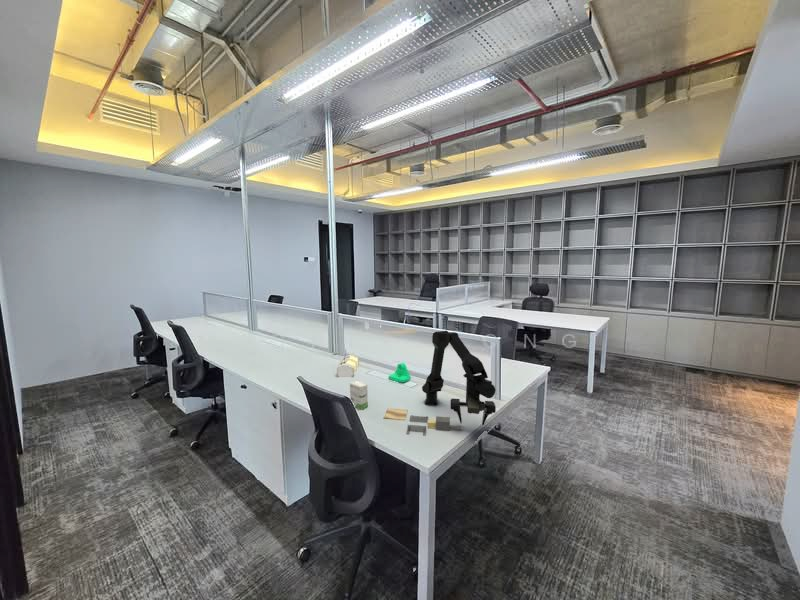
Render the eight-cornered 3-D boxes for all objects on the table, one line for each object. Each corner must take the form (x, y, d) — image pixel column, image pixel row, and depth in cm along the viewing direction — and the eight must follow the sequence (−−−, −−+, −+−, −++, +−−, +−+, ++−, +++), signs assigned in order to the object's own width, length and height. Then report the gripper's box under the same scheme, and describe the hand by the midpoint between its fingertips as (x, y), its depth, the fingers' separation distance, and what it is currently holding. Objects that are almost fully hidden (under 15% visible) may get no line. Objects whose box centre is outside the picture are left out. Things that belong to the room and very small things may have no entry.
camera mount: (387, 379, 202) (387, 363, 201) (396, 376, 208) (396, 360, 207) (402, 384, 195) (402, 367, 193) (410, 381, 200) (410, 364, 199)
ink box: (368, 407, 164) (368, 384, 162) (360, 410, 160) (360, 387, 159) (357, 401, 170) (357, 380, 168) (349, 404, 166) (349, 382, 165)
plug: (428, 424, 147) (428, 415, 146) (461, 426, 145) (461, 418, 144) (427, 429, 142) (427, 420, 142) (461, 432, 140) (461, 423, 140)
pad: (387, 409, 162) (387, 408, 162) (407, 410, 160) (407, 409, 160) (383, 418, 152) (383, 417, 152) (404, 420, 150) (404, 419, 150)
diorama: (344, 365, 231) (344, 347, 229) (359, 365, 231) (358, 347, 229) (336, 377, 206) (336, 357, 204) (353, 377, 206) (352, 357, 204)
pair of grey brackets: (411, 416, 154) (411, 412, 153) (428, 418, 152) (428, 414, 152) (406, 433, 138) (406, 429, 138) (425, 435, 137) (425, 431, 137)
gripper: (450, 395, 133) (449, 431, 135) (498, 398, 130) (496, 435, 132) (450, 385, 144) (450, 419, 146) (494, 388, 141) (493, 422, 143)
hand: (471, 424), depth 141 cm, fingers open, 9 cm apart
